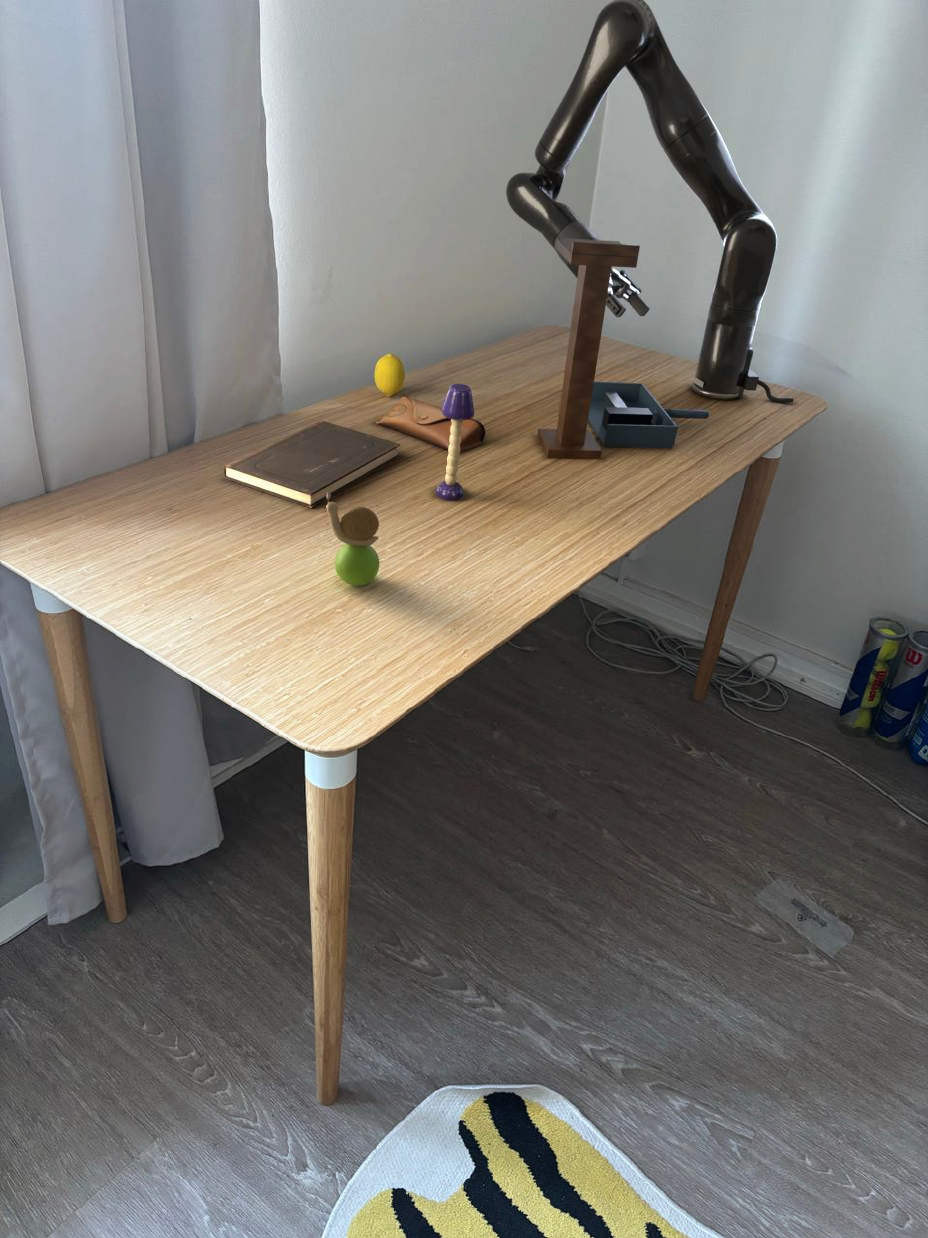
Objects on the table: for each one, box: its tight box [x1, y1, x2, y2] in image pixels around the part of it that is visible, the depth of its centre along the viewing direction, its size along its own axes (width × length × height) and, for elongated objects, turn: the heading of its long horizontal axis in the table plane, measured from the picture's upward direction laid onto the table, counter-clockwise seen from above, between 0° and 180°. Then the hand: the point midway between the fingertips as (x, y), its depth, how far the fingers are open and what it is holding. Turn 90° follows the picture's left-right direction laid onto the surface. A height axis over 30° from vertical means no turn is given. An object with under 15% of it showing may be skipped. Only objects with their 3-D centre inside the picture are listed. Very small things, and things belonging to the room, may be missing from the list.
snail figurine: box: [325, 492, 380, 587], centre depth 111 cm, size 5×6×12 cm
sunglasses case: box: [375, 394, 486, 452], centre depth 156 cm, size 18×7×7 cm
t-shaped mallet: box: [602, 391, 653, 429], centre depth 168 cm, size 14×8×3 cm, turn 7°
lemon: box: [373, 352, 406, 398], centre depth 168 cm, size 6×6×8 cm
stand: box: [536, 238, 641, 460], centre depth 147 cm, size 10×11×34 cm
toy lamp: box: [435, 383, 475, 501], centre depth 133 cm, size 5×5×17 cm
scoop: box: [588, 381, 711, 449], centre depth 167 cm, size 22×22×4 cm
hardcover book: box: [223, 419, 401, 509], centre depth 141 cm, size 16×23×2 cm
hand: (634, 313), depth 172 cm, fingers open, 8 cm apart
